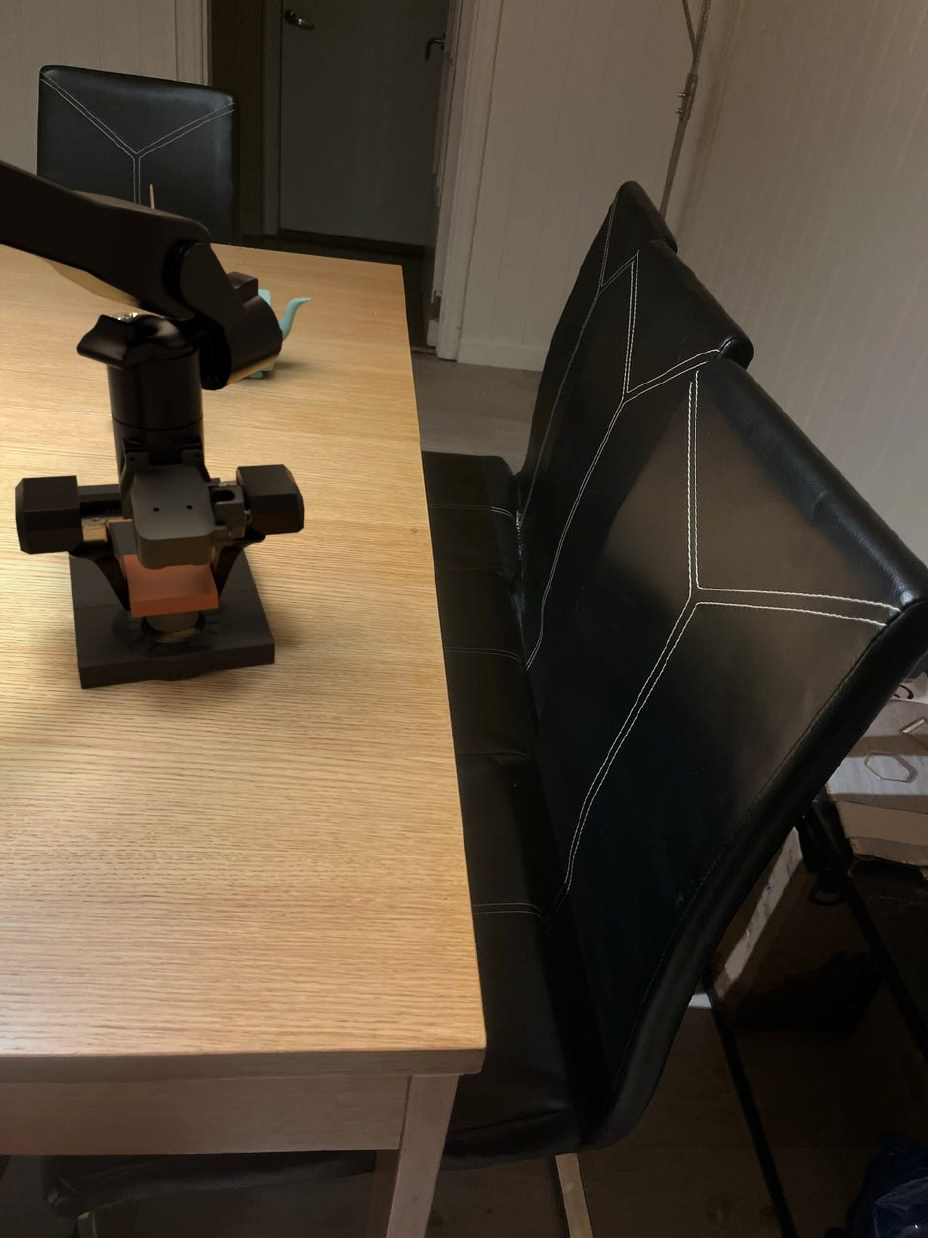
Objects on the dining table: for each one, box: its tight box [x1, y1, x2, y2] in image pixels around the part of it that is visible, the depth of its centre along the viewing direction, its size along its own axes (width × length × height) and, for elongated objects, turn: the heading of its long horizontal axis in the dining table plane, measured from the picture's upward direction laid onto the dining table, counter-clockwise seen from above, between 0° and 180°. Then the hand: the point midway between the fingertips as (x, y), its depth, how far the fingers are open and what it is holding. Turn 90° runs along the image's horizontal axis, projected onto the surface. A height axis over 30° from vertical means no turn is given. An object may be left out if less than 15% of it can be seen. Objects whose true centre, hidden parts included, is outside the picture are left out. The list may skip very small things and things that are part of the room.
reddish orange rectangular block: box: [123, 554, 218, 633], centre depth 68 cm, size 6×6×4 cm
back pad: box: [68, 477, 276, 689], centre depth 77 cm, size 26×14×2 cm, turn 21°
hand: (171, 603), depth 69 cm, fingers closed on reddish orange rectangular block, 6 cm apart
